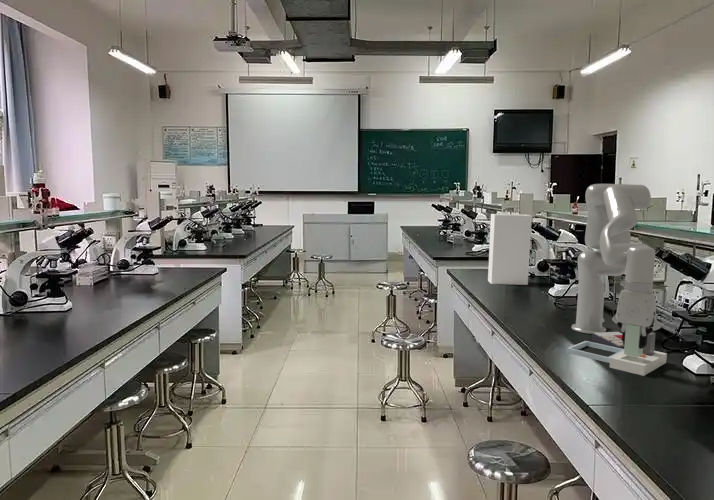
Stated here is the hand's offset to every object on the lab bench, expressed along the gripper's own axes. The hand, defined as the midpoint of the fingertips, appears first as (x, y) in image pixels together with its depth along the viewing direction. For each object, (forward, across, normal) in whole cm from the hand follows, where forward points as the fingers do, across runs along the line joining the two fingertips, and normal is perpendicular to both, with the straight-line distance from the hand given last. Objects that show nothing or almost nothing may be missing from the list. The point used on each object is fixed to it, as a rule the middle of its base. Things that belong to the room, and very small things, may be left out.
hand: (633, 345), depth 170 cm
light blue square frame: (+8, -14, +7) cm, 18 cm away
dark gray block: (+7, 0, +10) cm, 12 cm away
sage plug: (+3, 0, 0) cm, 3 cm away
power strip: (+8, 0, +5) cm, 10 cm away
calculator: (+9, -14, +24) cm, 29 cm away
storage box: (+8, -111, +110) cm, 156 cm away
